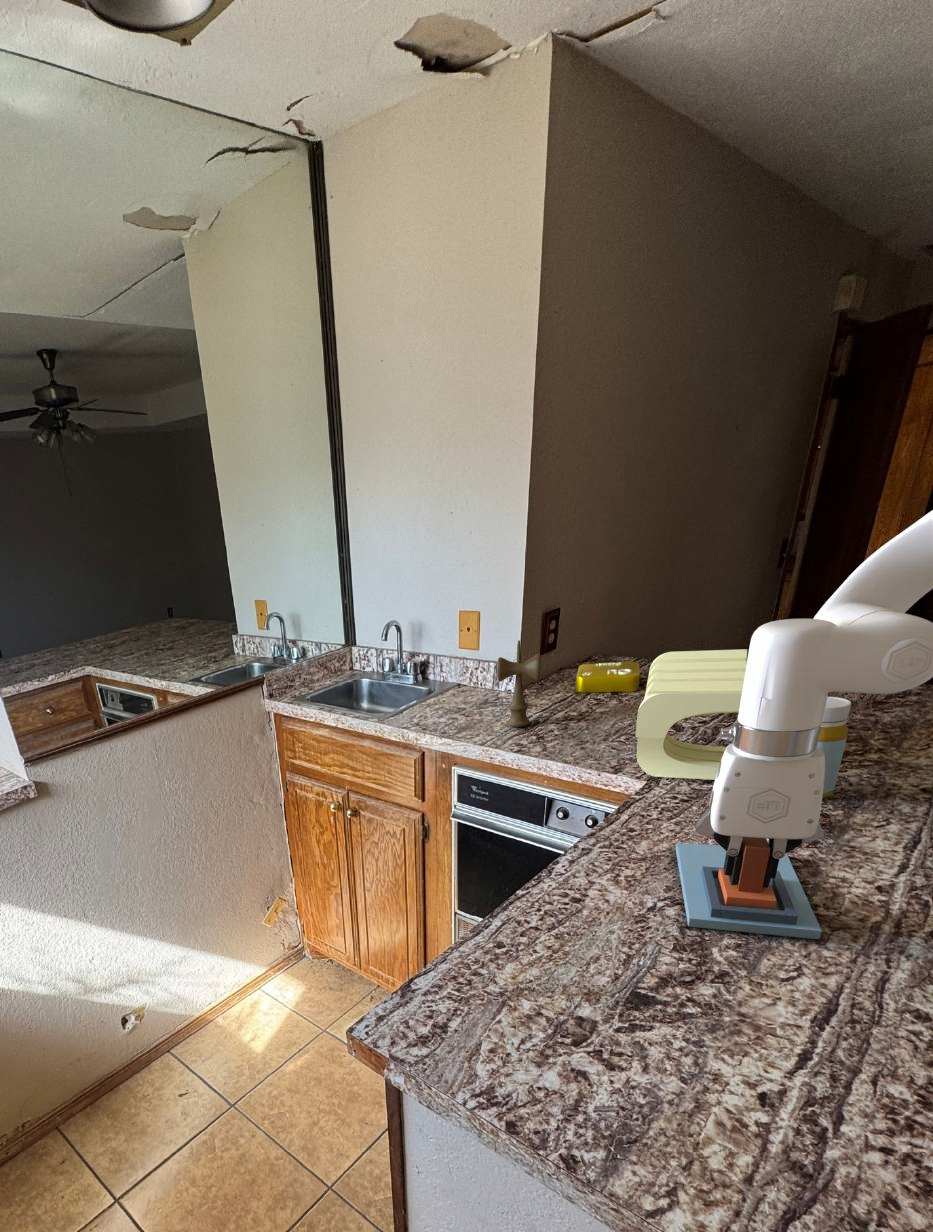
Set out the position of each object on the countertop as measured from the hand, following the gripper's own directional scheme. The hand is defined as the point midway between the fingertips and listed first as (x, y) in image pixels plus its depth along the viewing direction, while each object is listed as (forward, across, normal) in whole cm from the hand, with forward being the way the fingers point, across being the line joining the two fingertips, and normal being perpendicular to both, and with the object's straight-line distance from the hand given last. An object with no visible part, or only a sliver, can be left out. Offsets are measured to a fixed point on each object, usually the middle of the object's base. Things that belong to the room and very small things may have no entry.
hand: (747, 879), depth 79 cm
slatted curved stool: (+4, -3, +49) cm, 49 cm away
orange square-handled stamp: (+2, 0, 0) cm, 2 cm away
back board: (+4, 0, +4) cm, 5 cm away
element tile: (+4, -16, +108) cm, 109 cm away
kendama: (+4, -35, +74) cm, 82 cm away
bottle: (+4, +14, +37) cm, 40 cm away
